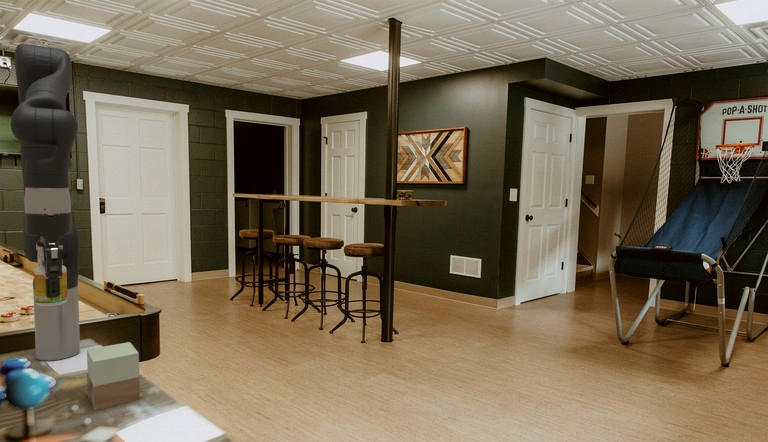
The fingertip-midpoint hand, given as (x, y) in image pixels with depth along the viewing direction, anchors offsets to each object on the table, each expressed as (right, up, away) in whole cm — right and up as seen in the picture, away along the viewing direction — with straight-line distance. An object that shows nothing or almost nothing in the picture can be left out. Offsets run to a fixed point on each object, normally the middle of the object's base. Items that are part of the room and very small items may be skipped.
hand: (51, 293), depth 97 cm
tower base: (+11, -22, +2) cm, 25 cm away
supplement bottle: (0, -2, 0) cm, 2 cm away
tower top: (+12, -17, +2) cm, 21 cm away
